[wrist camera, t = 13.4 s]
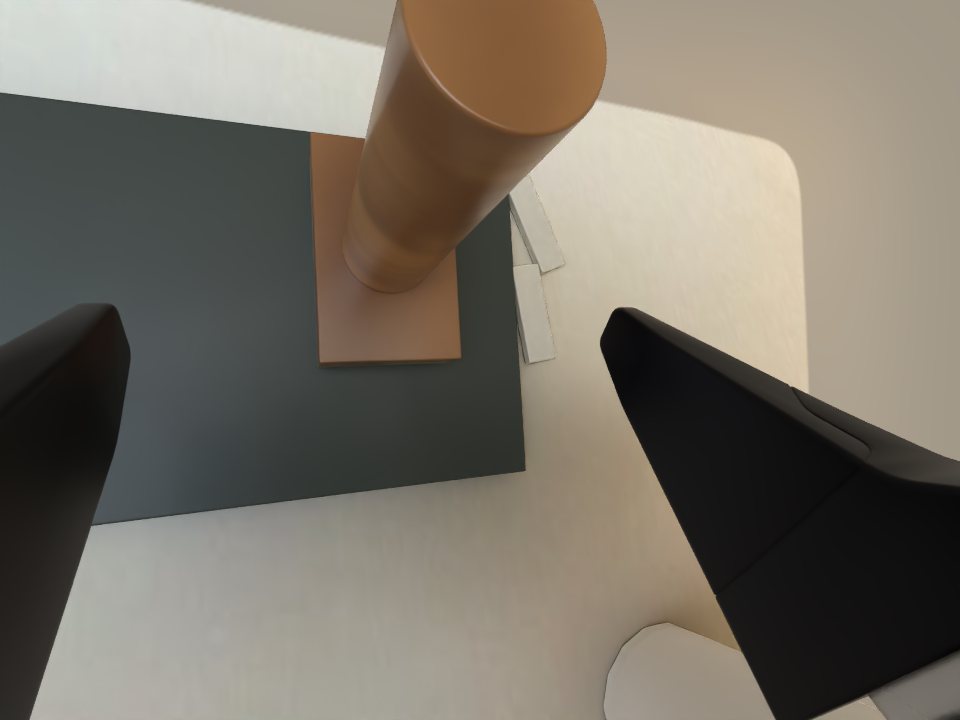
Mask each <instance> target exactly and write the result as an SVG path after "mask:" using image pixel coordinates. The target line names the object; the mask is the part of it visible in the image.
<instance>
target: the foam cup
mask: <svg viewBox="0 0 960 720" xmlns="http://www.w3.org/2000/svg"><path fill="white" fill-rule="evenodd" d="M603 708H604V712H605V716H606V720H775V718H774V716H773V714H772V712H771V710H770V708H769V706H768V704H767V702H766V700H765V698H764V696H763V694H762V692H761V690H760V688H759V686H758V684H757V682H756V680H755V678H754V675H753V673H752V671H751V669H750V667H749V665H748V663H747V661H746V659H745V657H744V655H743V653H742V652H740V651H737V650H735V649H732V648H730V647H728V646H725V645H723V644H720V643H718V642H716V641H713V640H711V639H708V638H706V637H704V636H701V635H699V634H696V633H694V632H691V631H688V630H686V629H683V628H681V627H678V626H675V625H673V624H670V623H668V622H667V623H662V624H658V625H654V626H649V627H645V628H643V629H642V630H641V631H640V632H638V633H637V634H636V635H635V636H634V637H633V638H631V639H630V640H629V641H628V642H627V643H626V644H625V645H623V646H622V648H621V650H620V652H619V654H618V656H617V658H616V660H615V662H614V664H613V666H612V668H611V670H610V671H609V673H608V678H607V685H606V692H605V699H604V706H603ZM813 720H886V718H885V717H884V716H883V714H882V713H881V712H880V710H878V709H876V708H873V707H871V706H869V705H867V704H864V703H862V702H859V701H855V702H853V703H851V704H848V705H846V706H844V707H841V708H839V709H837V710H834V711H832V712H830V713H827V714H825V715H823V716H820V717H818V718H816V719H813Z"/></svg>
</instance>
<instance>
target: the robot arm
mask: <svg viewBox="0 0 960 720" xmlns="http://www.w3.org/2000/svg"><path fill="white" fill-rule="evenodd" d="M600 347H601V351H602V354H603V356H604V359H605V362H606V364H607V367H608V370H609V373H610V375H611V378H612V381H613V383H614V386H615V389H616V392H617V394H618V397H619V399H620V402H621V404H622V407H623V409H624V411H625V413H626V415H627V417H628V419H629V421H630V424H631V426H632V428H633V430H634V432H635V434H636V436H637V438H638V440H639V442H640V444H641V446H642V448H643V450H644V452H645V454H646V456H647V458H648V460H649V462H650V464H651V466H652V468H653V470H654V473H655V475H656V477H657V479H658V481H659V483H660V485H661V487H662V489H663V491H664V493H665V495H666V497H667V499H668V501H669V503H670V505H671V507H672V509H673V511H674V513H675V515H676V517H677V519H678V522H679V524H680V526H681V528H682V530H683V532H684V534H685V536H686V538H687V540H688V542H689V544H690V546H691V548H692V550H693V552H694V554H695V556H696V558H697V560H698V562H699V564H700V566H701V568H702V570H703V573H704V575H705V577H706V579H707V581H708V583H709V585H710V587H711V589H712V591H713V593H714V595H716V600H717V602H718V604H719V606H720V608H721V610H722V612H723V614H724V616H725V618H726V620H727V622H728V624H729V626H730V628H731V631H732V633H733V635H734V637H735V639H736V641H737V643H738V645H739V647H740V649H741V651H742V653H743V655H744V657H745V659H746V661H747V663H748V665H749V667H750V669H751V671H752V673H753V675H754V678H755V680H756V682H757V684H758V686H759V688H760V690H761V692H762V694H763V696H764V698H765V700H766V702H767V704H768V706H769V708H770V710H771V712H772V714H773V716H774V718H775V720H813V719H816V718H818V717H820V716H823V715H825V714H827V713H830V712H832V711H834V710H837V709H839V708H841V707H844V706H846V705H848V704H851V703H853V702H855V701H858V700H860V699H862V698H865V697H867V696H869V697H870V698H871V700H872V701H873V702H874V704H875V705H876V706H877V708H878V709H879V710H880V712H881V713H882V714H883V716H884V717H885V718H886V720H960V461H957V460H953V459H950V458H947V457H944V456H942V455H939V454H937V453H934V452H932V451H930V450H927V449H925V448H923V447H921V446H918V445H916V444H914V443H912V442H910V441H907V440H905V439H903V438H900V437H898V436H896V435H894V434H892V433H890V432H887V431H885V430H883V429H881V428H879V427H876V426H874V425H872V424H870V423H867V422H865V421H863V420H861V419H859V418H857V417H855V416H852V415H850V414H848V413H846V412H844V411H841V410H839V409H837V408H835V407H833V406H831V405H829V404H827V403H825V402H823V401H821V400H818V399H817V398H814V397H813V396H810V395H808V394H806V393H804V392H802V391H800V390H798V389H796V388H794V387H790V386H789V385H788V384H786V383H784V382H782V381H780V380H778V379H776V378H774V377H772V376H770V375H768V374H766V373H764V372H762V371H760V370H758V369H756V368H754V367H752V366H750V365H748V364H746V363H744V362H742V361H740V360H738V359H736V358H734V357H732V356H730V355H728V354H726V353H724V352H722V351H720V350H718V349H716V348H714V347H712V346H710V345H708V344H706V343H704V342H702V341H700V340H698V339H696V338H694V337H692V336H690V335H688V334H686V333H684V332H682V331H680V330H678V329H676V328H674V327H672V326H670V325H668V324H666V323H664V322H662V321H660V320H658V319H656V318H654V317H652V316H650V315H648V314H646V313H644V312H642V311H640V310H638V309H636V308H632V307H619V308H617V309H615V310H614V311H613V312H612V314H611V316H610V318H609V321H608V323H607V325H606V327H605V329H604V332H603V334H602V336H601V339H600ZM130 362H131V351H130V346H129V343H128V340H127V337H126V334H125V330H124V327H123V324H122V321H121V318H120V315H119V312H118V310H117V309H116V307H115V306H114V305H112V304H109V303H80V304H77V305H75V306H73V307H71V308H70V309H68V310H66V311H64V312H62V313H60V314H59V315H57V316H55V317H53V318H51V319H49V320H48V321H46V322H44V323H42V324H40V325H38V326H37V327H35V328H33V329H31V330H29V331H27V332H26V333H24V334H22V335H20V336H18V337H16V338H15V339H13V340H11V341H9V342H7V343H5V344H4V345H2V346H0V720H29V719H30V716H31V713H32V710H33V707H34V704H35V701H36V697H37V694H38V691H39V688H40V685H41V682H42V679H43V675H44V672H45V669H46V666H47V663H48V660H49V657H50V654H51V650H52V647H53V644H54V641H55V638H56V635H57V632H58V628H59V625H60V622H61V619H62V616H63V613H64V610H65V607H66V603H67V600H68V597H69V594H70V591H71V588H72V585H73V581H74V578H75V575H76V572H77V569H78V566H79V563H80V560H81V556H82V553H83V550H84V547H85V544H86V541H87V538H88V534H89V531H90V528H91V525H92V522H93V519H94V516H95V512H96V509H97V506H98V503H99V500H100V497H101V494H102V491H103V487H104V484H105V481H106V478H107V475H108V472H109V469H110V465H111V462H112V459H113V456H114V452H115V449H116V445H117V440H118V435H119V430H120V424H121V418H122V411H123V405H124V399H125V393H126V387H127V380H128V374H129V368H130Z"/></svg>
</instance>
